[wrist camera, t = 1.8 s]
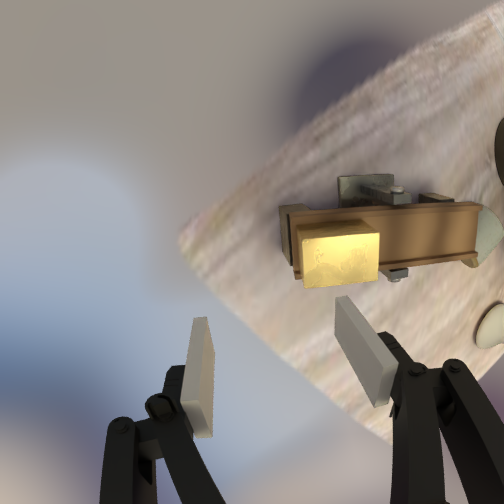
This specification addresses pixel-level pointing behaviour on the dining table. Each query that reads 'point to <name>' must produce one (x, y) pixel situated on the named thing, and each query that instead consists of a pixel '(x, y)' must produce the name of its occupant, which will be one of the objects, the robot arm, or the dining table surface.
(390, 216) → the beam
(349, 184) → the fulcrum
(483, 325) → the flower in vase
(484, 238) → the ceramic mug
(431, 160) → the dining table surface
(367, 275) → the block
